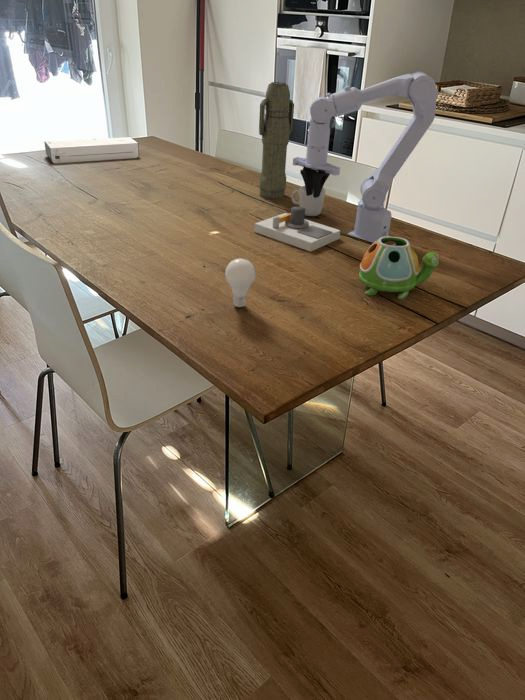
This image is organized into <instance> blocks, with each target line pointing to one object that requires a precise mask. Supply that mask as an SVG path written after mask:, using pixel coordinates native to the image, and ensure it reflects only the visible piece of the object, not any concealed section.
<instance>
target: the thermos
mask: <svg viewBox="0 0 525 700" xmlns="http://www.w3.org/2000/svg"><path fill="white" fill-rule="evenodd" d="M294 114H295V103H294V100H293V99H291V93H290V88H289V85H288V84H287V83H286V82H281V81H280V82H279V81H272V82H271V83H269V84H268V86H267V89H266V92H265V98H264V99H262V100H261V102H260V104H259V120H258V121H259V123H258V135H260V136H261V142H262V160H261V162H262V163H261V171H260V174H259V197H261V198H262V199H266V200H282V199H284V198H285V196H286V195H285V194H286V193H285V192H286V189H287V175H286V167H287V165H286V163H287V151H288V150H287V149H288V145H289V141H290V134H291V133H292V132H293V129H294V128H293V126H294Z"/></svg>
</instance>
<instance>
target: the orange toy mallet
mask: <svg viewBox="0 0 525 700" xmlns="http://www.w3.org/2000/svg"><path fill="white" fill-rule="evenodd" d="M290 216H291V212H290V213H287V214H286V215H283V216H281V217H278V215H275V216H272V217H273V228H279V223H282V222H284V221H287V220H290Z"/></svg>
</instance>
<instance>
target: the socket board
mask: <svg viewBox="0 0 525 700" xmlns="http://www.w3.org/2000/svg"><path fill="white" fill-rule="evenodd" d="M286 214H288V213H287V212H284V213H281V214H278V215H277V216H278V217H281V216H283V215H286ZM273 217H274V216H272V217H269V218H267V219H264V220H261V221H257V222H255V223H254V233H256V234H259V235H262V236H266V237H268V238H271V239H274V240H276V241H279V242H282V243H284V244H288V245H290V246H293V247H296V248H299V249H301V250H305V251H308V252H313V251H315V250H317V249H320V248H322V247H324V246H326V245H329V244H332V242H336V241H337V240H340V237H341V230H340V229H337V228H335V227H331V226H328V225H325V224H322V223H319V222H315V221H313V220H309V219H305V218H304V220H306V221H308V222H309V226H308V227H306V228H303V229H299V230H298V229H294V228H290V227H287V226H286V225H285V221H284V222H282V223H279V228H273Z"/></svg>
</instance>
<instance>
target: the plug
mask: <svg viewBox="0 0 525 700" xmlns="http://www.w3.org/2000/svg"><path fill="white" fill-rule="evenodd" d="M290 213H291V216H290V220H287V221H285V225H286V226H287V227H290V228H294V229H298V230H299V229H303V228H306V227H308V226H309V222H308V221H306V220H307V219H306V220H304V219H305V217H306V215H305V208H303V207H300V206H292V207H290Z"/></svg>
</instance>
